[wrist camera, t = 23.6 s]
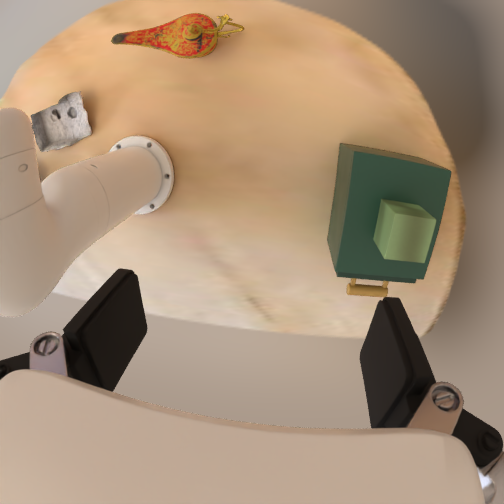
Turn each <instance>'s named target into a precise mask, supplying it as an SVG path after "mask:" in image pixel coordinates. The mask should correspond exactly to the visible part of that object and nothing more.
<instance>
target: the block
mask: <svg viewBox="0 0 504 504" xmlns="http://www.w3.org/2000/svg"><path fill="white" fill-rule="evenodd" d="M435 224H436V219H435V218H434V217H432V216H431V215H430V214H429V213H428V212H427V211H425V210H424V209H423V208H422V207H420V206H419V205H415V204H410V203H404V202H398V201H391V200H385V199H381V203H380V208H379V214H378V219H377V224H376V229H375V233H374V238H373V240H374V242H375V243H376V245H377V247H378V249H379V250H380V252H381V254H382V256H383V257H384V259H390V260H399V261H409V262H418V263H425V260H426V256H427V253H428V250H429V246H430V243H431V239H432V236H433V232H434V228H435Z"/></svg>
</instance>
